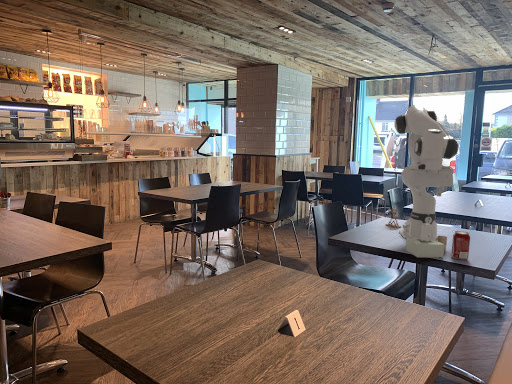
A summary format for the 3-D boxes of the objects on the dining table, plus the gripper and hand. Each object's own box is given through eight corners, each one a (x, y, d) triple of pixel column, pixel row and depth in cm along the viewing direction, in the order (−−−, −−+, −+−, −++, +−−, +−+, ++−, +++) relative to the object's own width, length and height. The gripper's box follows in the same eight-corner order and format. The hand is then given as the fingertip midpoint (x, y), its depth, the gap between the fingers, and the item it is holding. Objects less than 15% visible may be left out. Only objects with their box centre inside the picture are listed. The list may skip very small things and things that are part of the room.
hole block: (405, 249, 188) (406, 237, 187) (430, 250, 189) (431, 237, 188) (417, 257, 176) (418, 244, 175) (443, 257, 177) (444, 244, 176)
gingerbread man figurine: (401, 227, 237) (403, 208, 235) (397, 228, 235) (399, 208, 233) (389, 225, 244) (390, 206, 242) (385, 225, 242) (386, 206, 240)
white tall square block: (417, 252, 184) (420, 223, 182) (426, 252, 184) (428, 223, 183) (421, 254, 180) (424, 225, 178) (430, 254, 180) (432, 225, 179)
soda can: (470, 261, 172) (472, 234, 171) (453, 259, 174) (456, 233, 172) (465, 256, 179) (467, 231, 177) (449, 255, 180) (451, 230, 179)
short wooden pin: (434, 249, 190) (436, 235, 189) (443, 249, 190) (444, 235, 189) (439, 251, 186) (440, 237, 185) (447, 252, 186) (448, 237, 185)
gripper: (449, 165, 181) (447, 195, 182) (406, 164, 179) (404, 194, 181) (457, 166, 174) (454, 197, 176) (412, 165, 173) (410, 196, 175)
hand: (428, 196), depth 179 cm, fingers open, 8 cm apart
